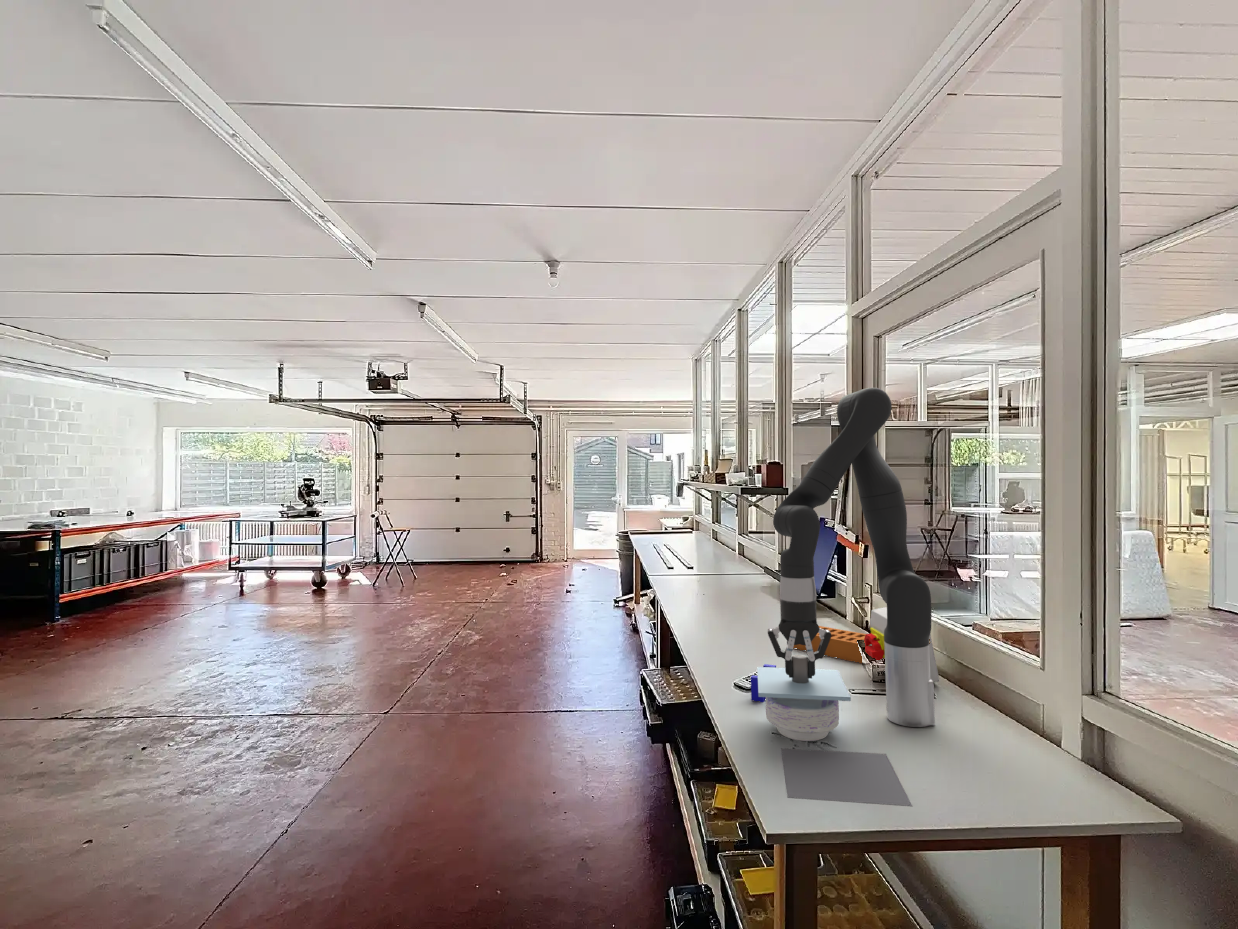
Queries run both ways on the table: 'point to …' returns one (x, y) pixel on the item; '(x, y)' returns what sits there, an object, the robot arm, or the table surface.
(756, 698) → the cable clip
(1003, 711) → the table surface
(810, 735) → the paper bowls
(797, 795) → the mat
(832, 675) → the sheet
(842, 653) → the brick
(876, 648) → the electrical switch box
